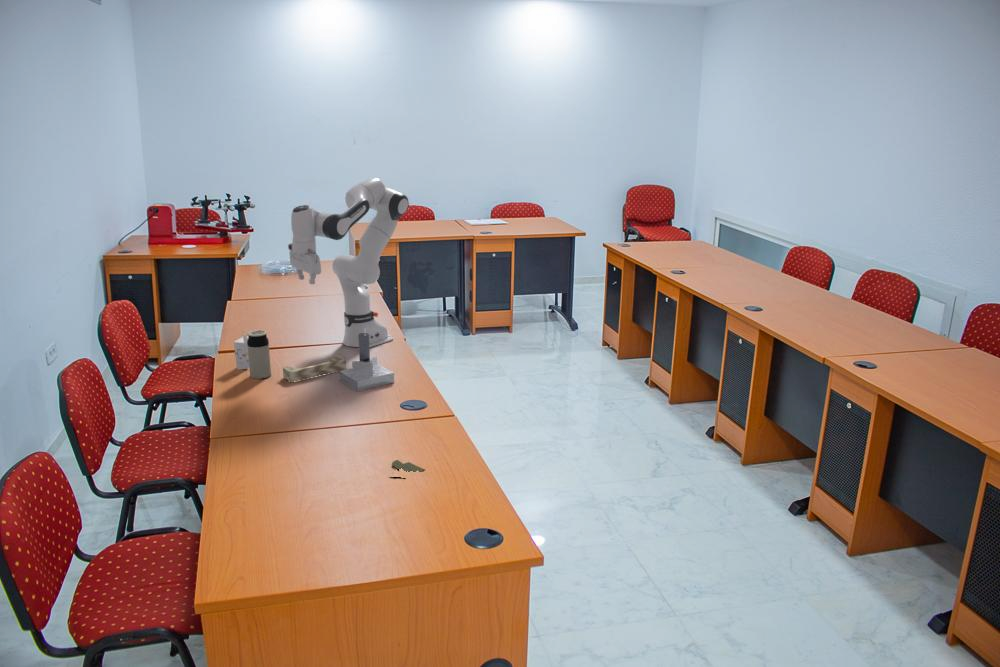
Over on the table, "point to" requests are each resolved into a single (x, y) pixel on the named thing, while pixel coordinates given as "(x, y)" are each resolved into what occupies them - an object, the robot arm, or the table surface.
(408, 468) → the olive green flat piece
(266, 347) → the travel mug
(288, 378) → the notched beam
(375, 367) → the v block
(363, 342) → the steel axle
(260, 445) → the table surface
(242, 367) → the ink cartridge box
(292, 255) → the robot arm
